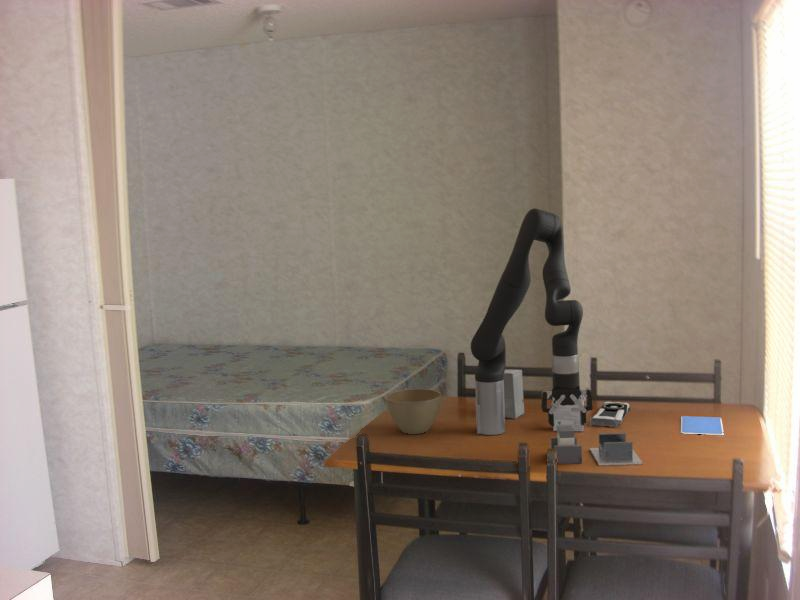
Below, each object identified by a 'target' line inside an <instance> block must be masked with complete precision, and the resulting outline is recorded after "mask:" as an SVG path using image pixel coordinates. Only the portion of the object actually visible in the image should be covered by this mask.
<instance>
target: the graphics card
mask: <svg viewBox="0 0 800 600" xmlns="http://www.w3.org/2000/svg"><path fill="white" fill-rule="evenodd" d="M630 410H631V406H630V404H629V403H628V402H621V401H613V402H612V401H605V402H604V403H603V404H602V406H601V407H600V408H599V410H598V411H597V413H596V414H594V415H593V417H591V418H589V427H594V425H596V426H595V427H598V426H599V427H604V426H609V427H608V428H615V427H621V428H622V425H621V424H622V423H623V422H624V420H623V419H625V418H626V417H625V416H627V415H628V413H629V412H630ZM628 411H629V412H628ZM627 412H628V413H627ZM626 414H627V415H626ZM624 417H625V418H624ZM621 422H622V423H621ZM620 423H621V424H620Z"/></svg>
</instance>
